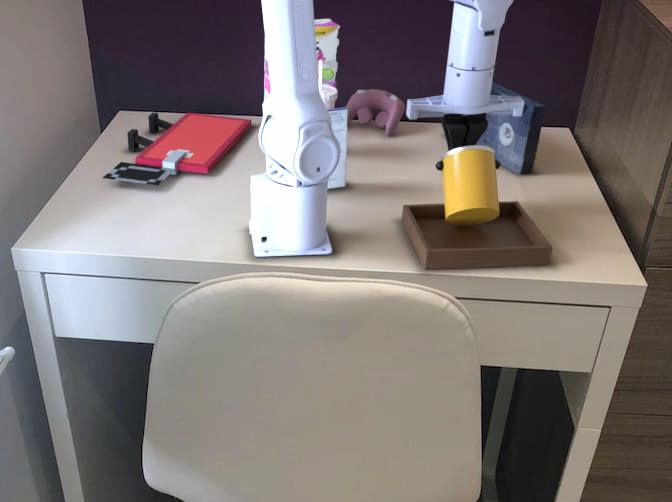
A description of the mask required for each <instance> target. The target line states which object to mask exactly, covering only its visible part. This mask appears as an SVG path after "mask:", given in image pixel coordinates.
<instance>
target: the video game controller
mask: <svg viewBox="0 0 672 502" xmlns="http://www.w3.org/2000/svg"><path fill="white" fill-rule="evenodd" d="M345 107H348V125H349V124H350V123H351V122H352V121H353V120H354V118H355V116H356V115H357V118H358V121H359V122H360V123H361V124H363V125H370V124H371V123H372V122H373V120H374V123H375V125H376V126H377V127H378V128H380V129H385V134H386V136H388V137H390V136H392V135H393V134H394V133H395V132H396V130H397V128H398V127H399V125H400V122H401V118H402V117H403V116H404V113H405V112H406V111H405V110H406V105H405V103H404V102H403V101H402V100H401V99H400V98H399V97H398V96H396V95H395V94H393V93H390V92H388V91H386V90H381V89H376V88H371V89H358V90H357V91H356V92H355V93H353V94H352V95H351V96H350V98H349V100H348V101H347V103H346V105H345ZM372 109H377V110H380V112H379V113H377V115H376V116H375V119H374V114H373V111H372Z"/></svg>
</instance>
